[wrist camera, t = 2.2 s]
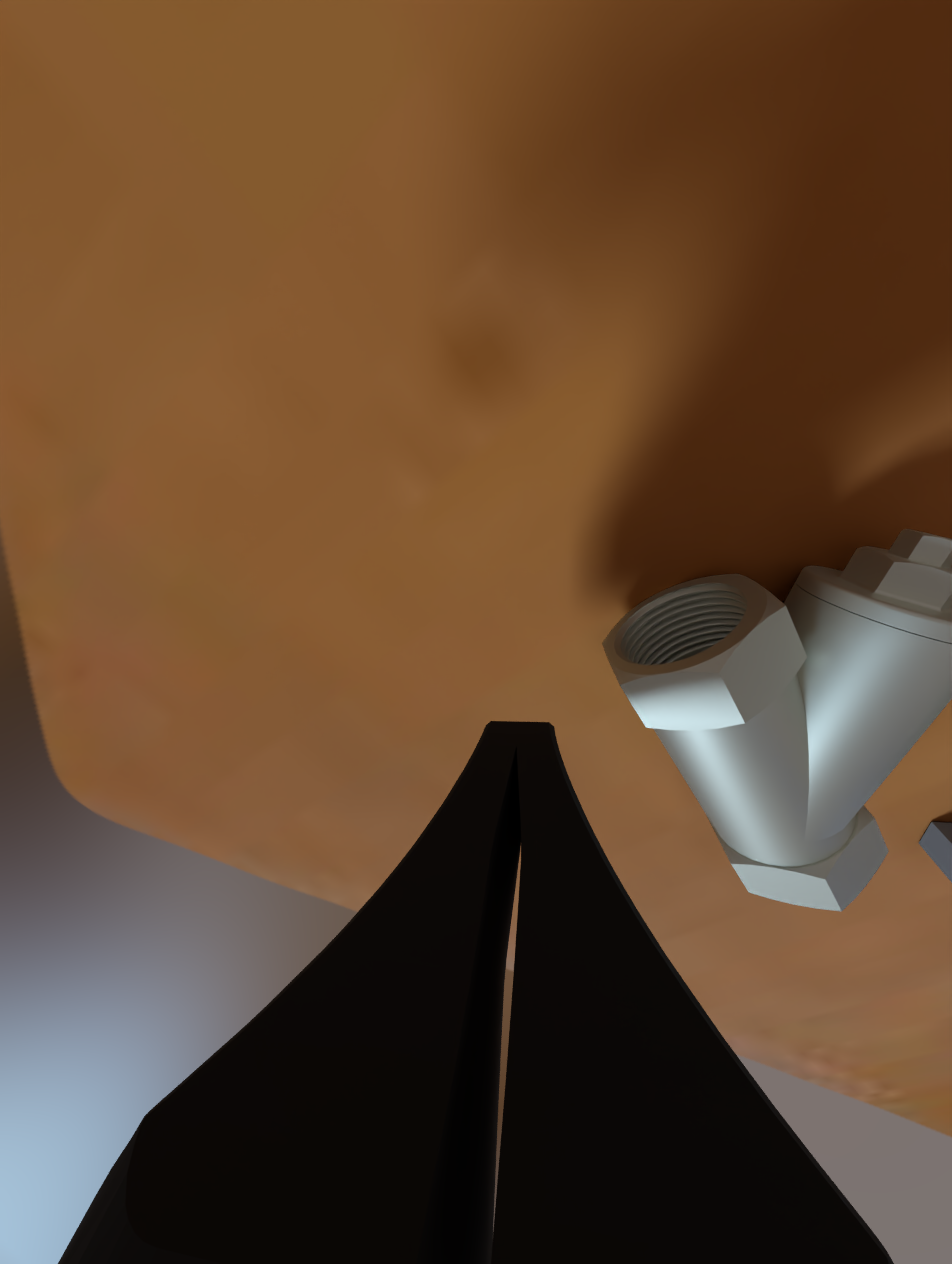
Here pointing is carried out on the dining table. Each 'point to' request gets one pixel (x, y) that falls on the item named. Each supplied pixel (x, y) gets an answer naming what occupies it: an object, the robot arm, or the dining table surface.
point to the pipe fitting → (795, 705)
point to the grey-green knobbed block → (939, 845)
